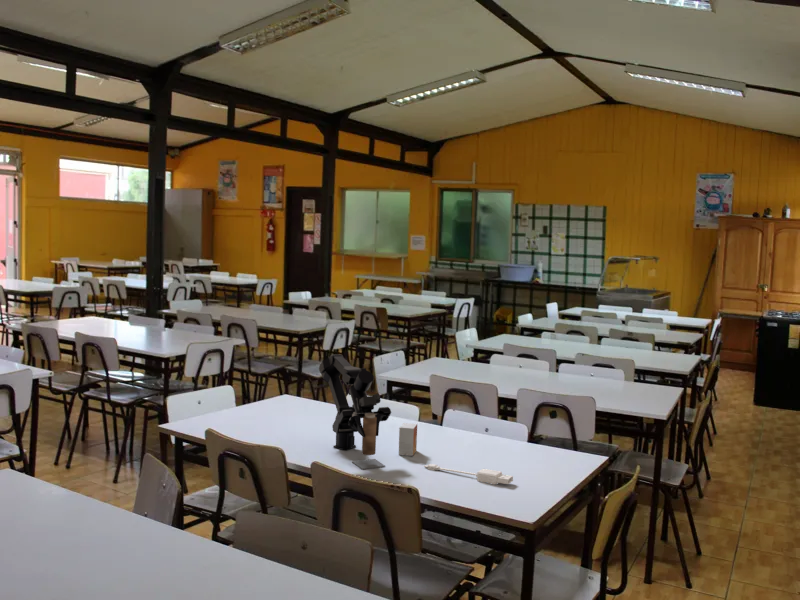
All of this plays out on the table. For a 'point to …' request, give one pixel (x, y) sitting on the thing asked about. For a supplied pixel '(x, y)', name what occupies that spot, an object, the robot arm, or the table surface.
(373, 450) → the pepper mill
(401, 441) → the small box
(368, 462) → the coaster
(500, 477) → the charging cable
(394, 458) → the table surface
